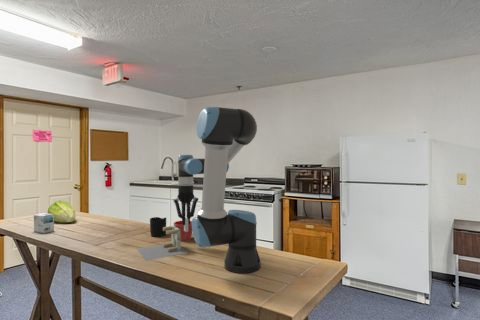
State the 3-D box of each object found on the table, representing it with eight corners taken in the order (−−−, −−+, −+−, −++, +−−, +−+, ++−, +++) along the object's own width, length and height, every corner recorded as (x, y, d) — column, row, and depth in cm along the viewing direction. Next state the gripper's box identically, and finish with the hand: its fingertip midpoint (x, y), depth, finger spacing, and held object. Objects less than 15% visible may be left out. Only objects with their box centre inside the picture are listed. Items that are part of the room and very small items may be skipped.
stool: (180, 250, 144) (180, 229, 144) (168, 252, 141) (168, 231, 141) (174, 245, 153) (174, 225, 153) (162, 246, 150) (162, 227, 150)
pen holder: (163, 232, 181) (163, 216, 181) (168, 235, 173) (168, 218, 173) (147, 234, 176) (147, 218, 176) (152, 238, 168) (152, 220, 168)
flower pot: (189, 242, 158) (189, 224, 158) (170, 241, 161) (170, 224, 161) (196, 237, 169) (196, 220, 169) (178, 236, 171) (178, 220, 171)
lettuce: (82, 228, 215) (58, 235, 203) (68, 212, 229) (45, 218, 217) (82, 210, 210) (57, 216, 198) (68, 196, 224) (44, 201, 212)
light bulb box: (54, 231, 186) (54, 214, 186) (43, 233, 180) (43, 215, 180) (44, 229, 191) (44, 212, 191) (33, 231, 185) (33, 214, 185)
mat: (188, 253, 140) (188, 253, 140) (145, 261, 130) (145, 260, 130) (176, 243, 157) (176, 242, 157) (136, 249, 148) (136, 248, 148)
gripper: (195, 183, 157) (195, 228, 157) (171, 185, 151) (171, 231, 151) (200, 184, 151) (200, 231, 151) (175, 186, 144) (175, 234, 144)
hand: (186, 231), depth 151 cm, fingers closed
